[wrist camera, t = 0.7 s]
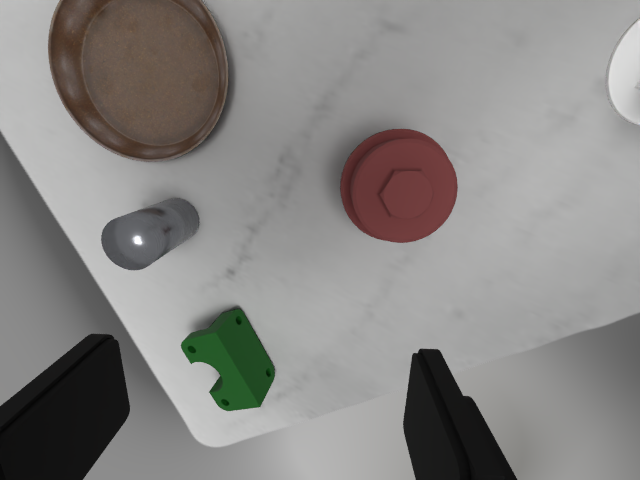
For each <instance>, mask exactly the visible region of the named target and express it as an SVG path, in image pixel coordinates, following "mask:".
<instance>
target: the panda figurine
mask: <svg viewBox="0 0 640 480" xmlns="http://www.w3.org/2000/svg"><path fill="white" fill-rule="evenodd" d="M606 91H607V96H608V99H609V102H610V104H611V106H612V107H613V109H614V110H615V112H616V113H617V114H618V115H619V116H620V117H621V118H623V119H624V120H626V121H628V122H630V123H632V124H635V125H640V18H639V19H638V20H636V21H635V22H634V23H633V24H632V25H631V26H630V27H629V28H628V29H627V30H626V32H625V33H624V34H623V35H622V37H621V38H620V40H619V41H618V43H617V45H616V46H615V48H614V50H613V52H612V55H611V57H610V60H609V63H608V67H607V72H606Z"/></svg>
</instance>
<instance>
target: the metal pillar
mask: <svg viewBox="0 0 640 480" xmlns="http://www.w3.org/2000/svg"><path fill="white" fill-rule="evenodd" d="M198 227H199V215H198V213H197V211H196V209H195V208H194V206H193V205H192V204H190V203H189V202H188V201H186V200H183V199H179V198H172V199H169V200H166V201H163V202H160V203H158V204H155V205H152V206H149V207H146V208H144V209H141V210H138V211H135V212H132V213H130V214H127V215H124V216H121V217H118V218H115V219H113V220H111V221H110V222H109V223H108V224H107V225H106V226H105V227H104V229H103V232H102V237H101V241H102V246H103V249H104V251H105V253H106V255H107V256H108V258H109V259H110V260H111V261H112V262H113V263H115V264H116V265H118V266H120V267H122V268H124V269H128V270H140V269H143V268H146V267H147V266H149V265H150V264H152V263H153V262H155V261H156V260H158V259H159V258H160V257H162V256H163V255H165V254H166V253H168V252H169V251H171V250H172V249H174V248H175V247H177V246H178V245H179V244H181V243H182V242H184V241H185V240H187V239H188V238H190V237H191V236H193V235H194V234H195V233H196V231H197V230H198Z"/></svg>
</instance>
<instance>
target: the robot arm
mask: <svg viewBox="0 0 640 480" xmlns="http://www.w3.org/2000/svg"><path fill="white" fill-rule="evenodd" d="M129 412H130V405H129V399H128V393H127V388H126V382H125V376H124V371H123V365H122V359H121V354H120V348H119V343H118V341H117V340H115V339H114V337H113V336H112V335H108V334H90V335H88V336H87V337H85V338H84V339H83V340H82V341H81V342H79V343H78V344H77V345H76V346H74V347H73V348H72V349H71V350H70V351H68V352H67V353H66V354H65V355H63V356H62V357H61V358H60V359H58V360H57V361H56V362H55V363H53V364H52V365H51V366H50V367H48V369H46V370H45V371H43V372H42V373H41V374H40V375H38V376H37V377H36V378H35V379H34V380H32V381H31V382H30V383H29V384H27V385H26V386H25V387H24V388H22V389H21V390H20V391H19V392H17V393H16V394H15V395H14V396H13V397H11V398H10V399H9V400H8V401H6V402H5V403H4V404H3V405H1V406H0V480H83V479H84V477H85V476H86V474H87V473H88V472H89V470H90V469H91V468H92V466H93V465H94V463H95V462H96V461H97V459H98V458H99V457H100V455H101V454H102V452H103V451H104V450H105V448H106V447H107V445H108V444H109V443H110V441H111V440H112V439H113V437H114V436H115V435H116V433H117V432H118V431H119V429H120V428H121V426H122V425H123V424H124V422H125V421H126V419H127V417H128V415H129ZM403 425H404V426H403V427H404V434H405V438H406V442H407V446H408V450H409V454H410V458H411V462H412V466H413V470H414V474H415V478H416V480H517V478H516V476H515V475H514V473H513V471H512V469H511V467H510V465H509V464H508V462H507V460H506V458H505V456H504V455H503V453H502V451H501V449H500V447H499V446H498V444H497V442H496V440H495V438H494V436H493V434H492V433H491V431H490V429H489V427H488V425H487V424H486V422H485V420H484V418H483V416H482V414H481V413H480V411H479V409H478V407H477V406H476V403H475V402H474V401H473V399H472V398H471V397H469V396H463V395H462V393H461V391H460V389H459V387H458V385H457V383H456V381H455V379H454V377H453V375H452V373H451V371H450V369H449V368H448V366H447V364H446V362H445V360H444V358H443V356H442V354H441V352H440V351H439V350H438V349H419V351H418V353H414V354H413V355H412V362H411V369H410V376H409V384H408V392H407V399H406V406H405V413H404V421H403Z"/></svg>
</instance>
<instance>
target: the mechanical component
mask: <svg viewBox="0 0 640 480" xmlns="http://www.w3.org/2000/svg"><path fill="white" fill-rule="evenodd" d="M457 188H458V187H457V177H456V173H455V170H454V168H453V165H452V163H451V162H450V160H449V159H448V157H447V155H446V153H445V152H444V150H443V149H442V148H441V147H440V145H439V144H438V143H437V142H435V141H434V140H433V139H432V138H430V137H429V136H427V135H425V134H423V133H420V132H418V131H414V130H410V129H392V130H387V131H383V132H379V133H377V134H375V135H373V136H371V137H369V138H367V139H366V140H364V141H363V142H362V143H361V144H360V145H358V146H357V148H356V149H355V150H354V151H353V152H352V154H351V155H350V156H349V158H348V160H347V162H346V164H345V166H344V169H343V172H342V176H341V186H340V190H341V198H342V202H343V205H344V208H345V211H346V213H347V214H348V216H349V218H350V219H351V221H352V222H353V223H354V224H355V225H356V226H357V227H358V228H359V229H360V230H361V231H363V232H364V233H366V234H368V235H369V236H371V237H374V238H377V239H380V240H385V241H390V242H398V243H404V242H412V241H416V240H419V239H422V238H424V237H426V236H428V235H430V234H431V233H433V232H434V231H436V230H437V229H438V228H439V227H440V226H441V225H442V224H443V223H444V222H445V221H446V219H447V218H448V217H449V215H450V213H451V212H452V209H453V207H454V204H455V201H456V197H457Z"/></svg>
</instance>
